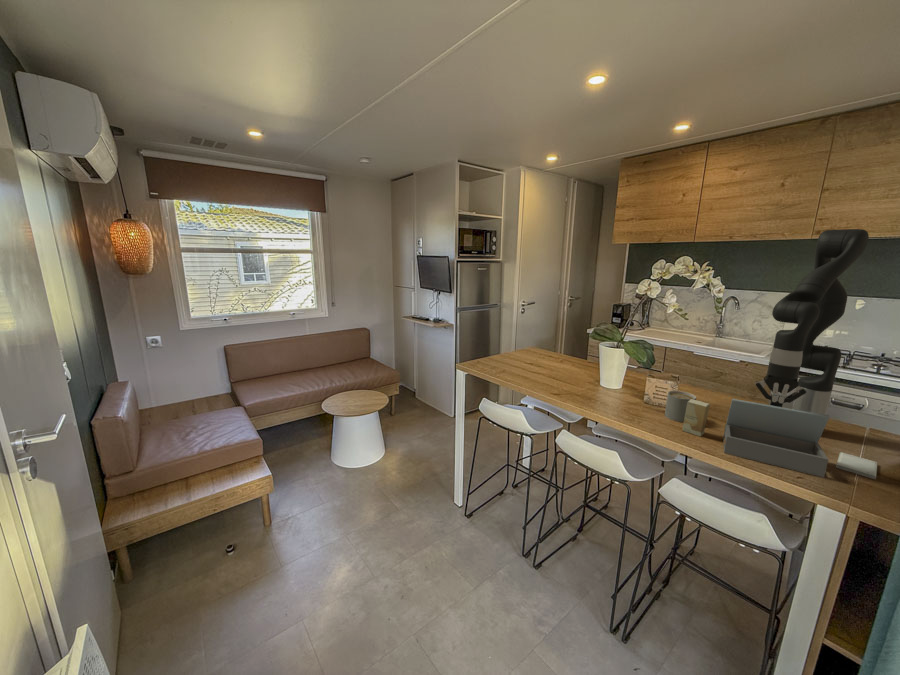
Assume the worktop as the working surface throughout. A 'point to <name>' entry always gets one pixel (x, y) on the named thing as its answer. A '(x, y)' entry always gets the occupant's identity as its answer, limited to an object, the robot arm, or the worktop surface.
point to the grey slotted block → (775, 450)
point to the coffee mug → (677, 405)
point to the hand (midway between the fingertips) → (774, 412)
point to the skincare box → (695, 417)
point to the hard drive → (857, 465)
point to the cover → (777, 420)
